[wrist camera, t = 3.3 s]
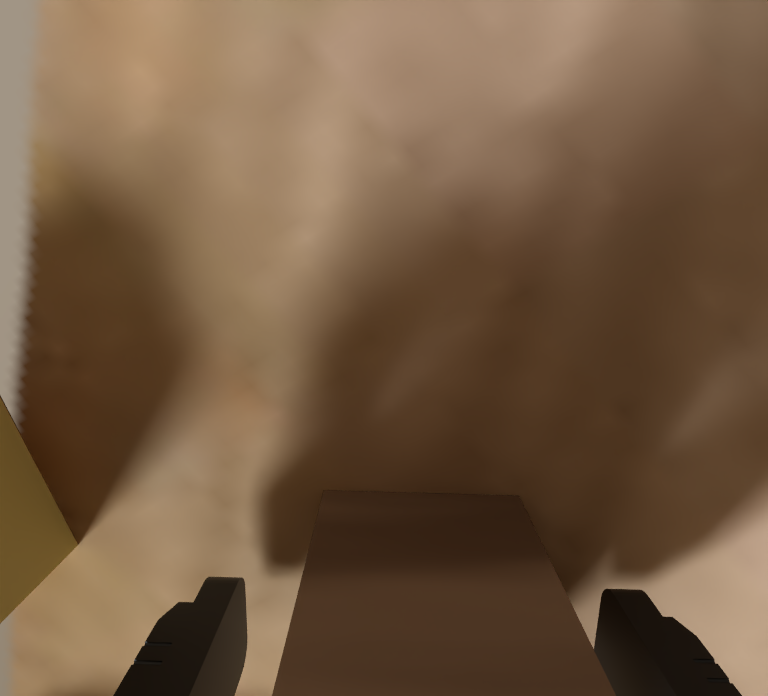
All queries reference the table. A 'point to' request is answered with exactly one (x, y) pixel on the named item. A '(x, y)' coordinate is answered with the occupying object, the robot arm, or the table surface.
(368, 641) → the walnut block
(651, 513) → the table surface
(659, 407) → the table surface
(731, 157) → the table surface
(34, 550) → the mustard block
